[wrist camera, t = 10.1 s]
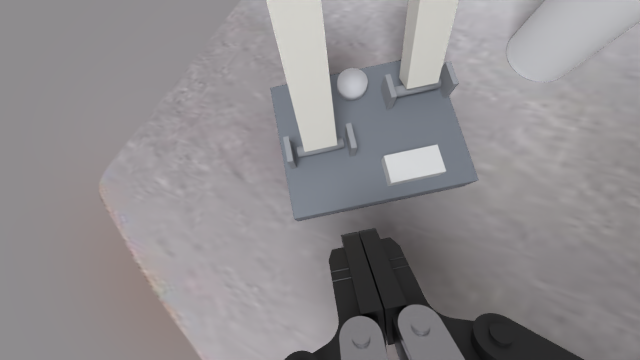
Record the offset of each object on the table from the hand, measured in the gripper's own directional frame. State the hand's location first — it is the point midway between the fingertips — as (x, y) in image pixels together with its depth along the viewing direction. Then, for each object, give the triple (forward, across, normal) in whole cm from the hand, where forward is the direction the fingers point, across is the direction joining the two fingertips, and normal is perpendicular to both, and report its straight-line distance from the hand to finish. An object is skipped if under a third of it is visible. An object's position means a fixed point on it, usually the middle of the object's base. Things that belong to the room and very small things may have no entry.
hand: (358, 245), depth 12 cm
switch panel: (+18, -4, +4) cm, 19 cm away
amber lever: (+15, 0, +2) cm, 15 cm away
